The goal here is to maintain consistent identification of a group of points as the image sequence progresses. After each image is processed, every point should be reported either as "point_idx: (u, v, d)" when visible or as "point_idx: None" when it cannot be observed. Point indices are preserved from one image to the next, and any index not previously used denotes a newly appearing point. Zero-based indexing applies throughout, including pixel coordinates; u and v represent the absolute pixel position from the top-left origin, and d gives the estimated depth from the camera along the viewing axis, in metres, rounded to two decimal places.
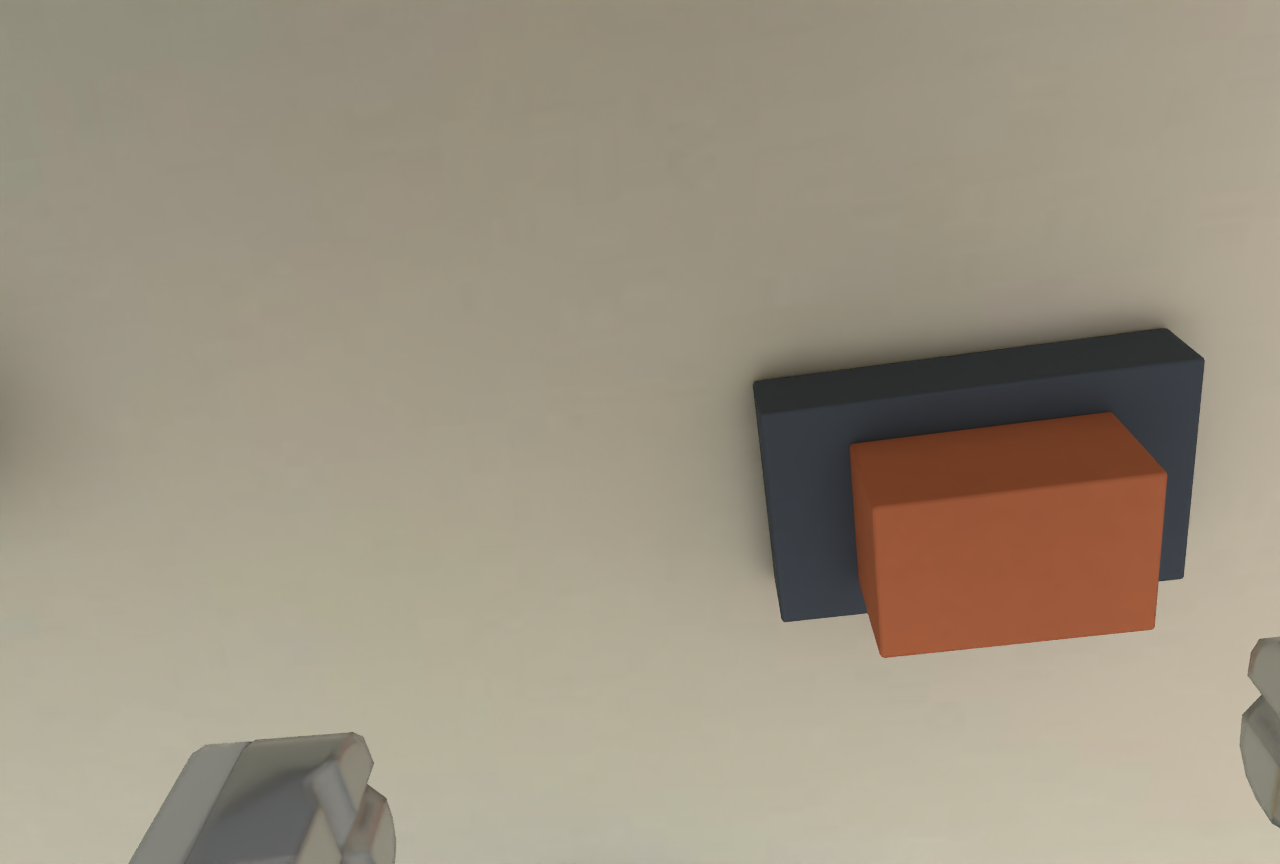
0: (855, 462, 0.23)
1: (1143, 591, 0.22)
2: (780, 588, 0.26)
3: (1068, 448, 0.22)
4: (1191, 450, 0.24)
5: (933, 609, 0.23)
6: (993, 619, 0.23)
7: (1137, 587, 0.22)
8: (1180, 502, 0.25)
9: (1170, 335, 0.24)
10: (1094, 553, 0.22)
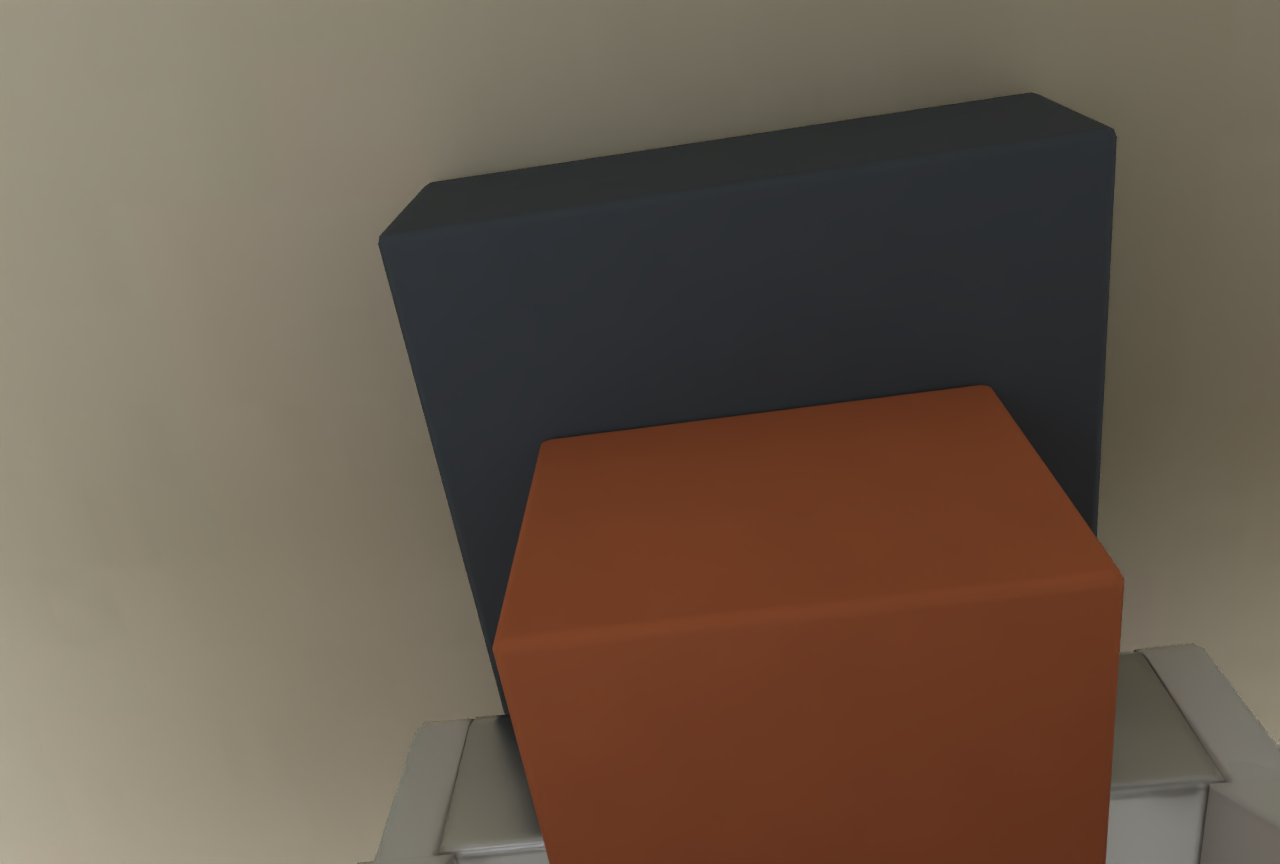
0: (1012, 424, 0.08)
1: None
2: (505, 225, 0.08)
3: None
4: None
5: (703, 767, 0.07)
6: None
7: None
8: None
9: None
10: None
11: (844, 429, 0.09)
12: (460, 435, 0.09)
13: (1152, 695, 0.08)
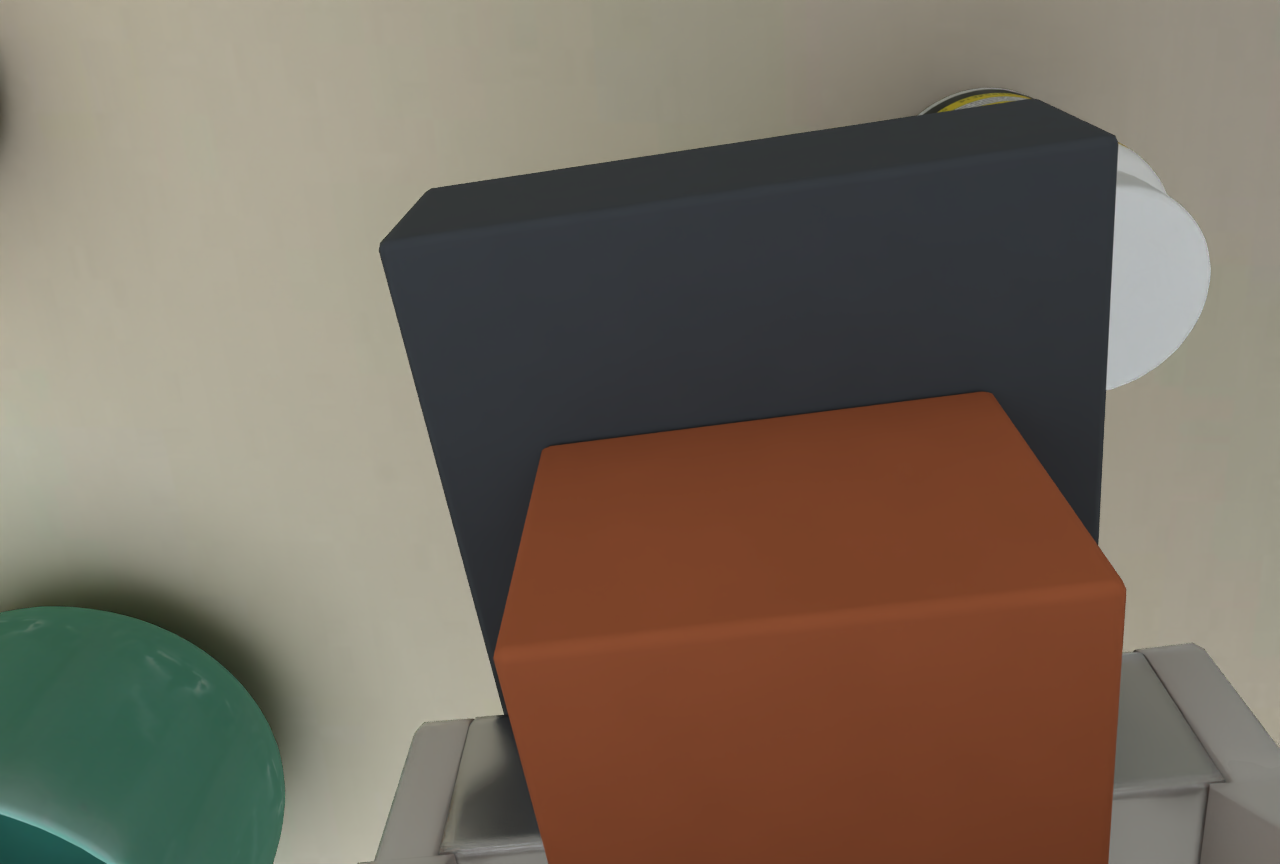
0: (1013, 432, 0.08)
1: None
2: (505, 232, 0.08)
3: None
4: None
5: (704, 775, 0.07)
6: None
7: None
8: None
9: None
10: None
11: (845, 436, 0.08)
12: (461, 442, 0.09)
13: (1153, 695, 0.08)
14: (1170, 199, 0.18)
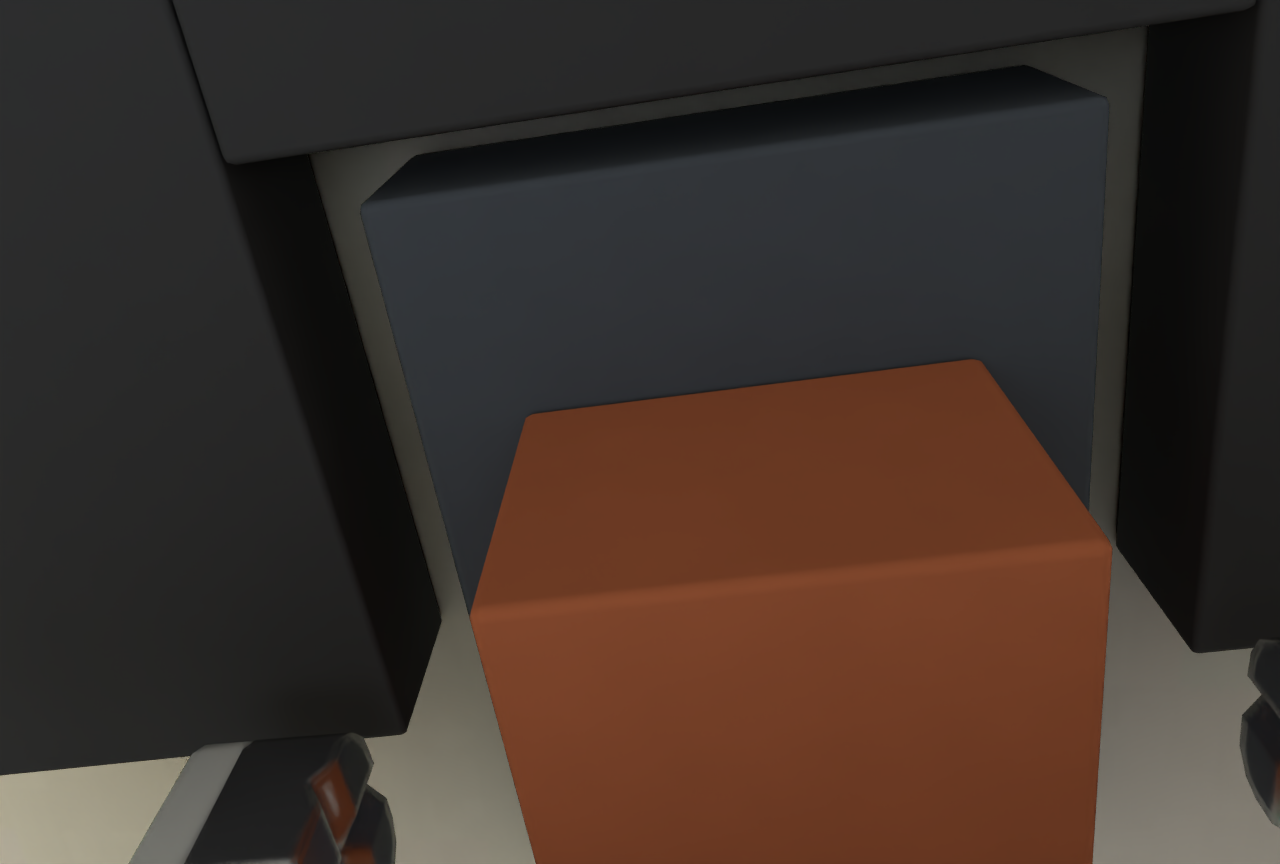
0: (1001, 397, 0.08)
1: None
2: (488, 193, 0.08)
3: None
4: None
5: (684, 740, 0.07)
6: None
7: None
8: None
9: None
10: None
11: (832, 402, 0.08)
12: (444, 409, 0.09)
13: None
14: None
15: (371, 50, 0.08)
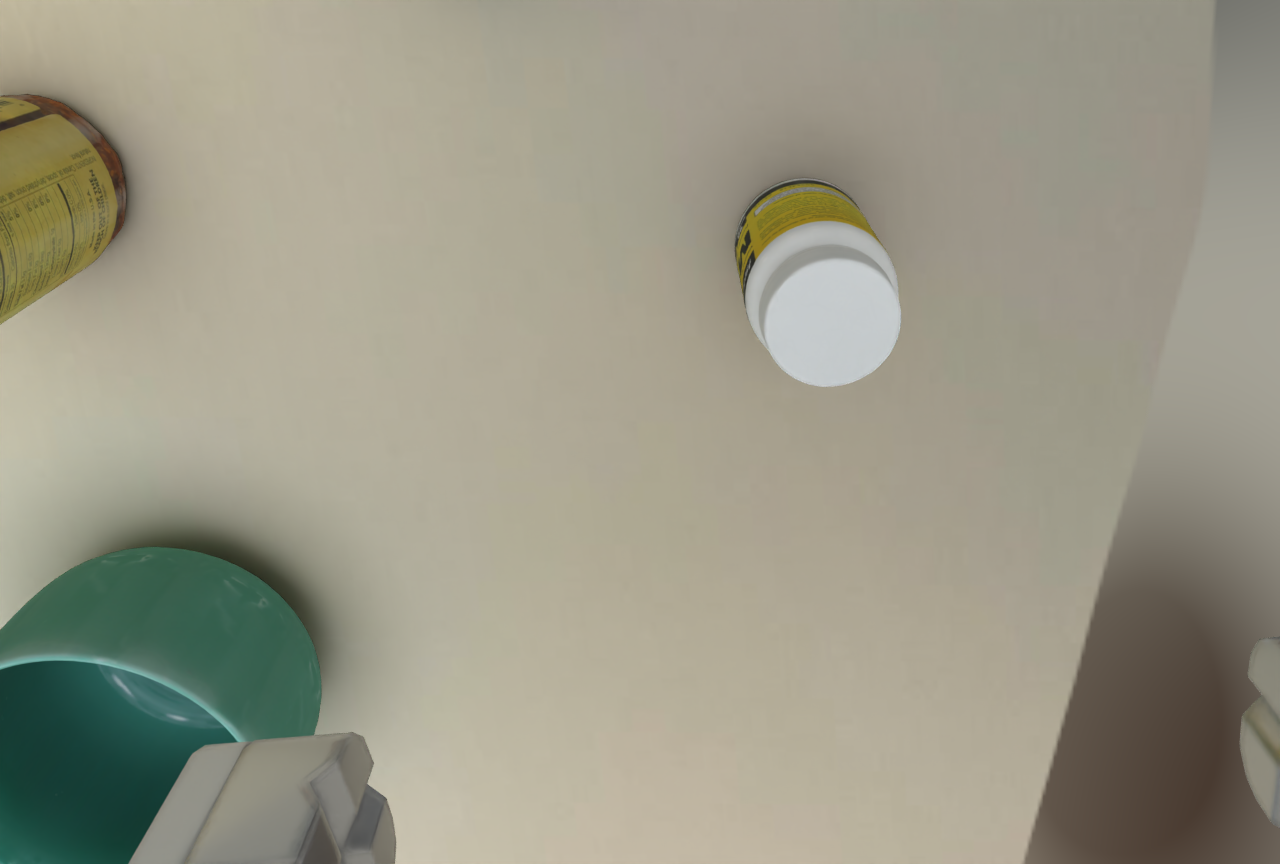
0: None
1: None
2: None
3: None
4: None
5: None
6: None
7: None
8: None
9: None
10: None
11: None
12: None
13: None
14: (868, 266, 0.29)
15: None
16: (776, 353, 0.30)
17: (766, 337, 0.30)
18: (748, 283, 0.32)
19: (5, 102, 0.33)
